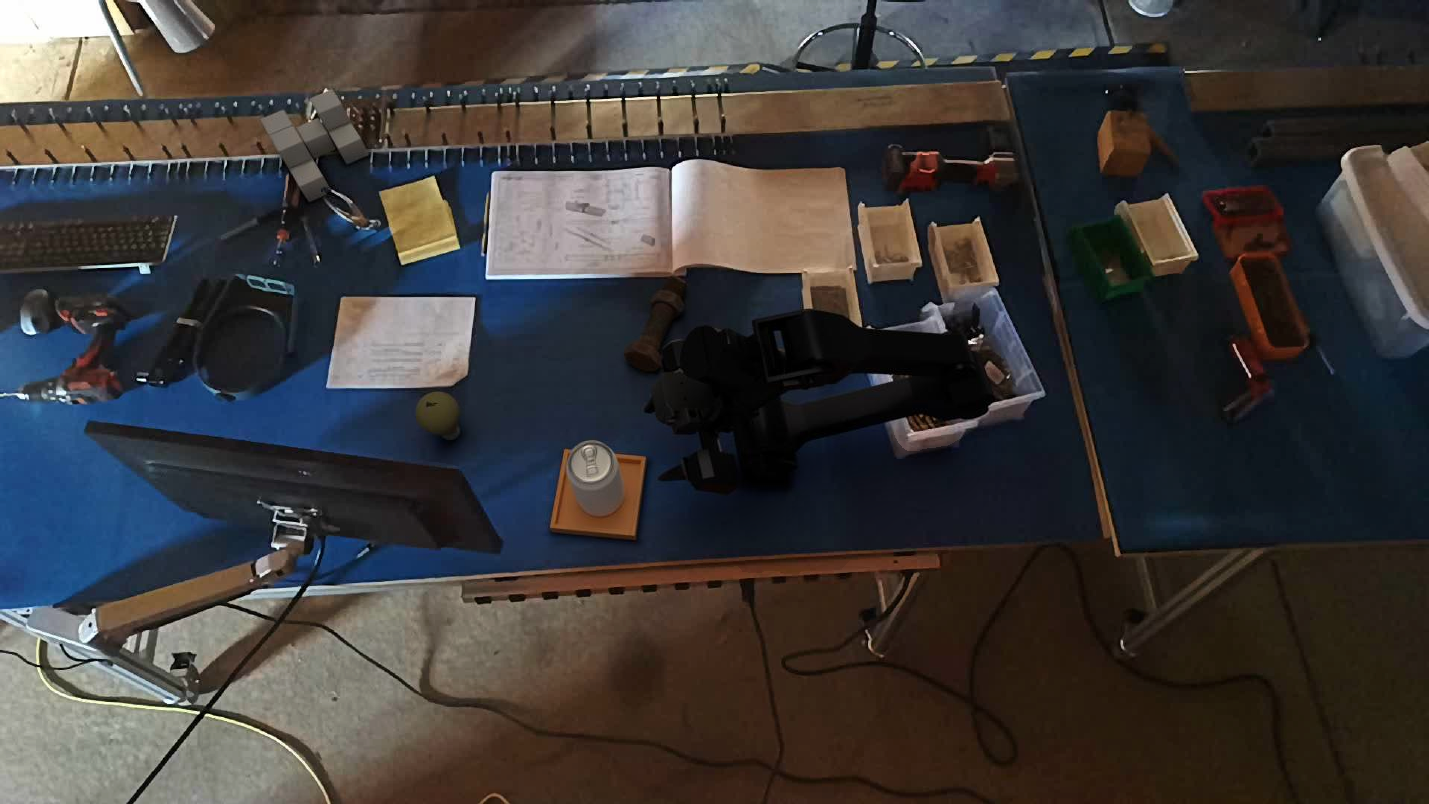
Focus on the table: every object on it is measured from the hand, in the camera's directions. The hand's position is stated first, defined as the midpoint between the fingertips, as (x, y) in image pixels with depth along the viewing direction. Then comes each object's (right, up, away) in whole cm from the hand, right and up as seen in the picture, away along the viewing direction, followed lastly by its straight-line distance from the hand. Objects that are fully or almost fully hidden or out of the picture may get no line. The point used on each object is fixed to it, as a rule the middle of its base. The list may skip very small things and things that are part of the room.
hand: (653, 445), depth 104 cm
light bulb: (-29, +1, +15) cm, 33 cm away
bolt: (0, +16, +23) cm, 28 cm away
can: (-8, -7, +11) cm, 15 cm away
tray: (-8, -8, +11) cm, 16 cm away
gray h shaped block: (-56, +45, +36) cm, 80 cm away
